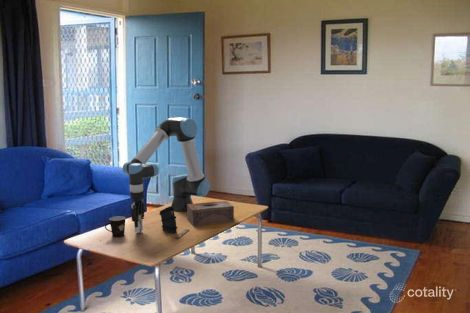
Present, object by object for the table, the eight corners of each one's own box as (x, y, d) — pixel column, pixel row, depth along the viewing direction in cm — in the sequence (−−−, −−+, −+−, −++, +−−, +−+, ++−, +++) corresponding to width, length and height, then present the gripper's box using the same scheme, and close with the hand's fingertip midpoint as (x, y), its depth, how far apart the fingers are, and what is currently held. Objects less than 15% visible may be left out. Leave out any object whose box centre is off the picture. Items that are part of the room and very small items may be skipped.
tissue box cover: (192, 226, 284) (192, 210, 282) (187, 219, 297) (187, 204, 296) (233, 222, 292) (233, 206, 290) (226, 215, 305) (226, 200, 304)
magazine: (174, 232, 266) (167, 206, 269) (163, 237, 276) (157, 212, 279) (180, 231, 268) (173, 205, 271) (169, 235, 278) (162, 211, 281)
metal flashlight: (137, 230, 273) (136, 213, 272) (142, 231, 273) (142, 214, 271) (134, 232, 270) (133, 215, 268) (140, 233, 269) (139, 215, 268)
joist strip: (185, 229, 276) (185, 229, 276) (189, 230, 275) (189, 229, 275) (174, 238, 261) (174, 237, 261) (178, 238, 260) (178, 238, 260)
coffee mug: (125, 232, 272) (124, 215, 271) (127, 236, 264) (126, 219, 263) (104, 235, 268) (103, 217, 267) (105, 239, 260) (104, 221, 259)
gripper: (137, 187, 276) (139, 226, 280) (123, 194, 261) (126, 235, 265) (149, 188, 274) (151, 227, 278) (136, 194, 259) (138, 236, 263)
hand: (138, 231), depth 271 cm, fingers closed on metal flashlight, 3 cm apart
